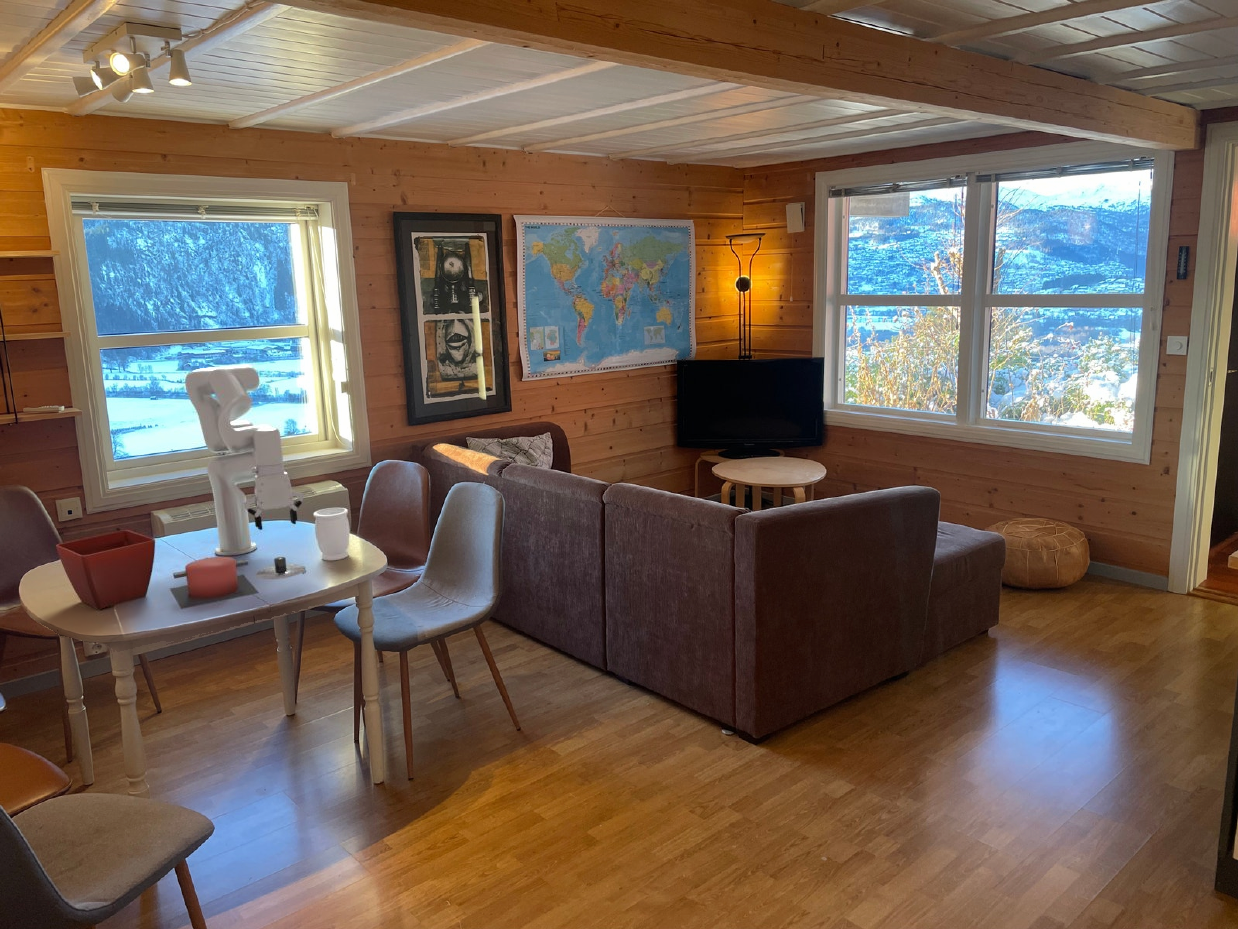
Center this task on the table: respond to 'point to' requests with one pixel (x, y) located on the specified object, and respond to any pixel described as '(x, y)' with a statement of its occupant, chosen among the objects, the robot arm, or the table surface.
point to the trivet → (187, 601)
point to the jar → (332, 533)
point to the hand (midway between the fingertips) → (277, 526)
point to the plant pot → (109, 567)
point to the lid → (281, 570)
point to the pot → (211, 577)
